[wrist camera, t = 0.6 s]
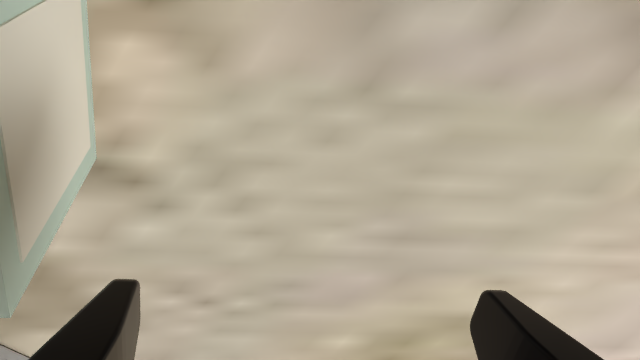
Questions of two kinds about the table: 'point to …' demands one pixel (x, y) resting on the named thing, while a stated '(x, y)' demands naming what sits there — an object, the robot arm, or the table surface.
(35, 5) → the tile
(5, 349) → the coffee box
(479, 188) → the table surface
